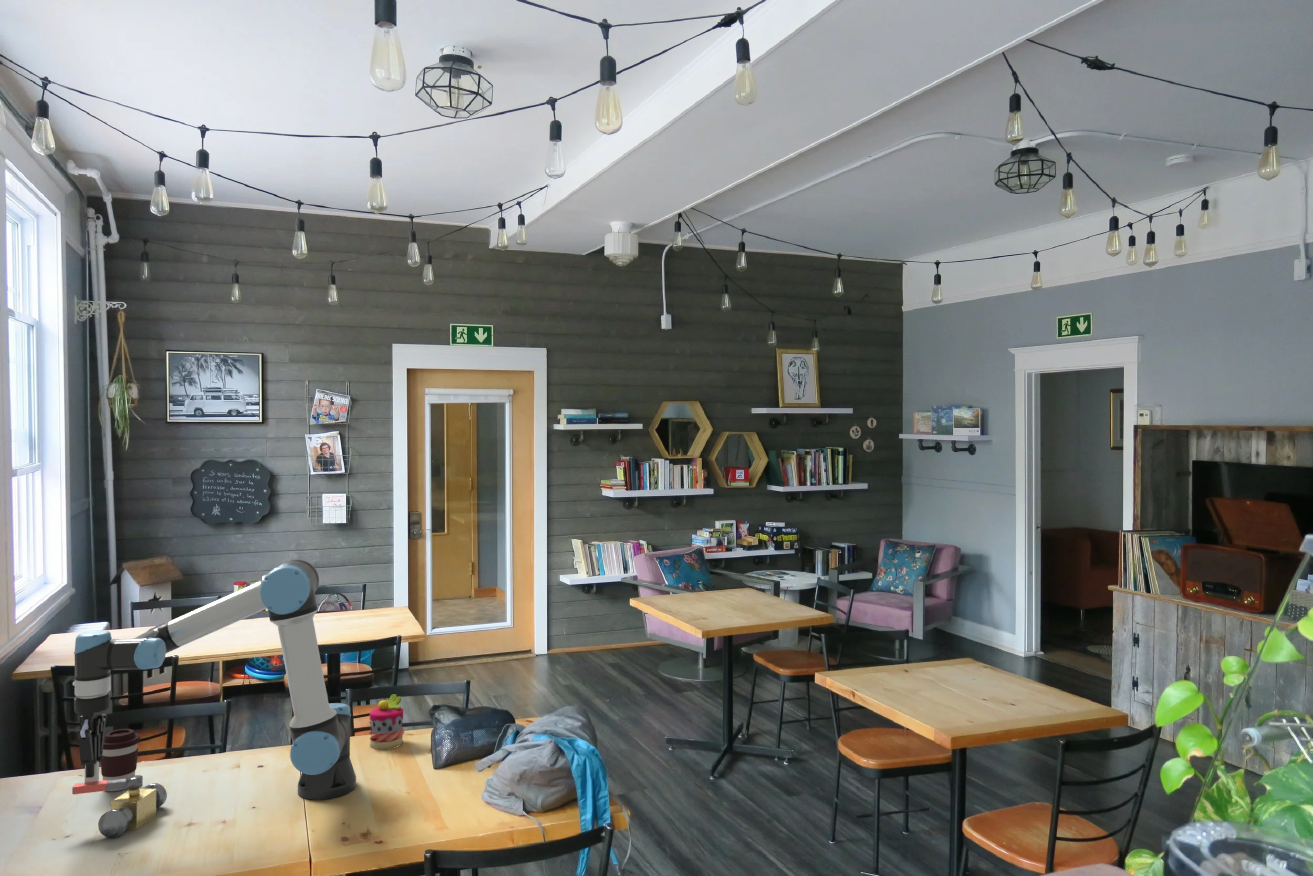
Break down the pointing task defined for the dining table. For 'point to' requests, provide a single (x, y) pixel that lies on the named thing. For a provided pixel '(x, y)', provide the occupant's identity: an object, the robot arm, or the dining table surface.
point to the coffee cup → (119, 755)
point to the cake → (386, 724)
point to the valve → (132, 810)
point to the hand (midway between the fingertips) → (91, 788)
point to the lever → (108, 785)
